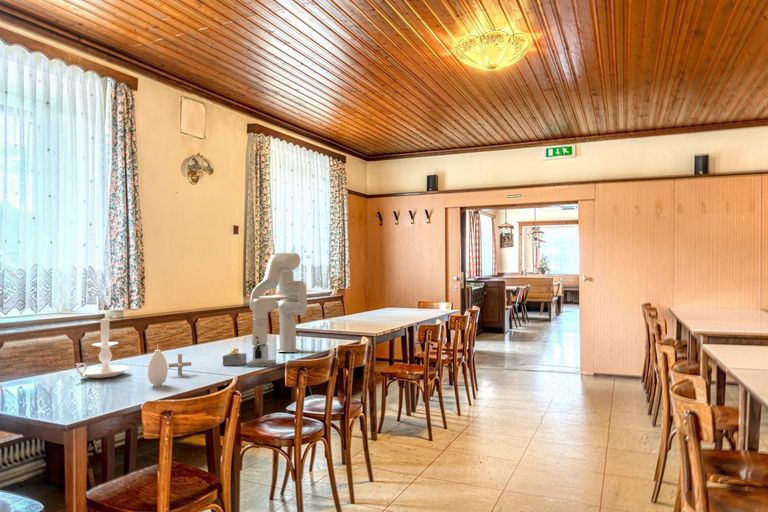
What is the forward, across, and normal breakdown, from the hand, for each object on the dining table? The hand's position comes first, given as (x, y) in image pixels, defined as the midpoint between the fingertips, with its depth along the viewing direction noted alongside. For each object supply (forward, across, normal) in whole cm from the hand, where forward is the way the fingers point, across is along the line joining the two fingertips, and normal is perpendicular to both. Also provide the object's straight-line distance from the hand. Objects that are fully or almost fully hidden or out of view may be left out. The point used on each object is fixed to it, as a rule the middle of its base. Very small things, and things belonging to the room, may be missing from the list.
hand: (260, 357), depth 269 cm
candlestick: (+4, +34, -65) cm, 74 cm away
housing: (+1, 0, 0) cm, 1 cm away
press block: (+4, -1, -14) cm, 15 cm away
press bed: (+4, 0, 0) cm, 4 cm away
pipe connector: (+4, +28, -29) cm, 41 cm away
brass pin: (+1, -1, -15) cm, 15 cm away
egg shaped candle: (+4, +50, -27) cm, 57 cm away
